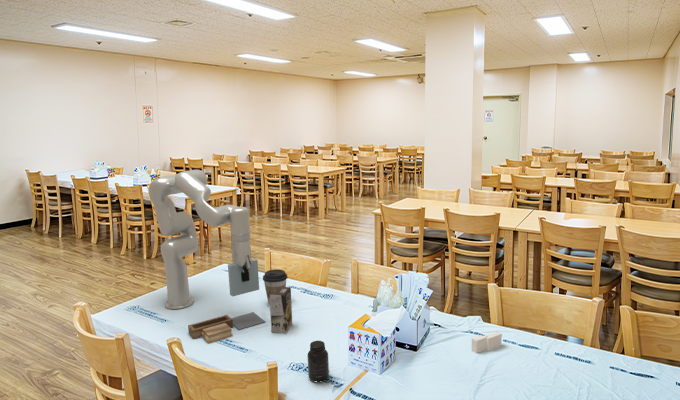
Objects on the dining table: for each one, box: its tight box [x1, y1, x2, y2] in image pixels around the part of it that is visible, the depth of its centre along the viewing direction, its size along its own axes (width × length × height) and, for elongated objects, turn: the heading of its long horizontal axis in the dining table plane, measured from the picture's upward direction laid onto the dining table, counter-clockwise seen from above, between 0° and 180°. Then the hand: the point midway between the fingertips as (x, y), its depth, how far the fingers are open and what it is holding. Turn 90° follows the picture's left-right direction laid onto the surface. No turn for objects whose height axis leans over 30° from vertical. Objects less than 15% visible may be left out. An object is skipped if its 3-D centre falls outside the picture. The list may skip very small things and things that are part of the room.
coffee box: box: [269, 286, 293, 334], centre depth 190 cm, size 9×6×16 cm
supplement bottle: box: [307, 340, 330, 383], centre depth 154 cm, size 7×7×12 cm
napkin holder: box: [471, 331, 503, 354], centre depth 171 cm, size 15×11×6 cm
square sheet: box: [227, 258, 260, 297], centre depth 195 cm, size 2×12×13 cm, turn 125°
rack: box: [187, 314, 234, 340], centre depth 190 cm, size 6×16×4 cm, turn 125°
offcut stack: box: [201, 323, 234, 345], centre depth 185 cm, size 7×10×4 cm
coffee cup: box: [262, 268, 288, 306], centre depth 215 cm, size 11×11×15 cm
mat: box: [230, 311, 267, 331], centre depth 198 cm, size 12×12×1 cm
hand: (244, 279), depth 195 cm, fingers closed on square sheet, 2 cm apart
